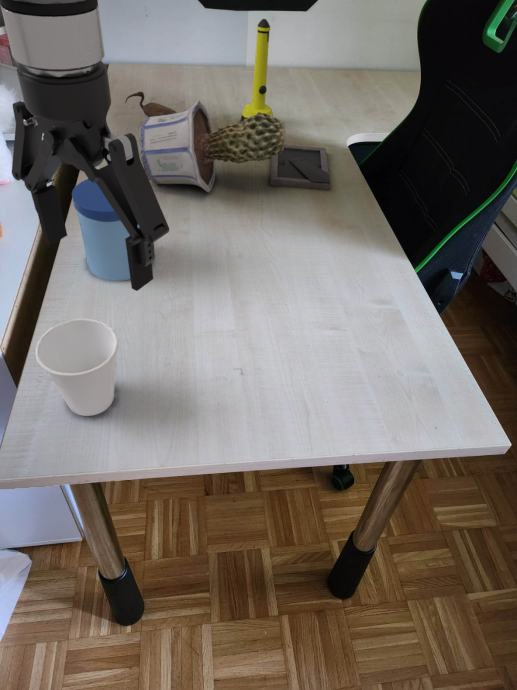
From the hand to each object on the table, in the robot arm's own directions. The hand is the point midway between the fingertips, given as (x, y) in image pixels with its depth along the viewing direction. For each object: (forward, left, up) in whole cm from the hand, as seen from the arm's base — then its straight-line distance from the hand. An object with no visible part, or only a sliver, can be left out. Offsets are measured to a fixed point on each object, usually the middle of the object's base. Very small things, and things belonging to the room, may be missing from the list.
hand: (98, 261), depth 60 cm
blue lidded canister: (+2, +28, -21) cm, 35 cm away
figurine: (+15, +84, -21) cm, 88 cm away
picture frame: (+46, +58, -21) cm, 77 cm away
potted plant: (+24, +53, -21) cm, 62 cm away
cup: (-4, -3, -21) cm, 22 cm away
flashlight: (+42, +83, -21) cm, 95 cm away
